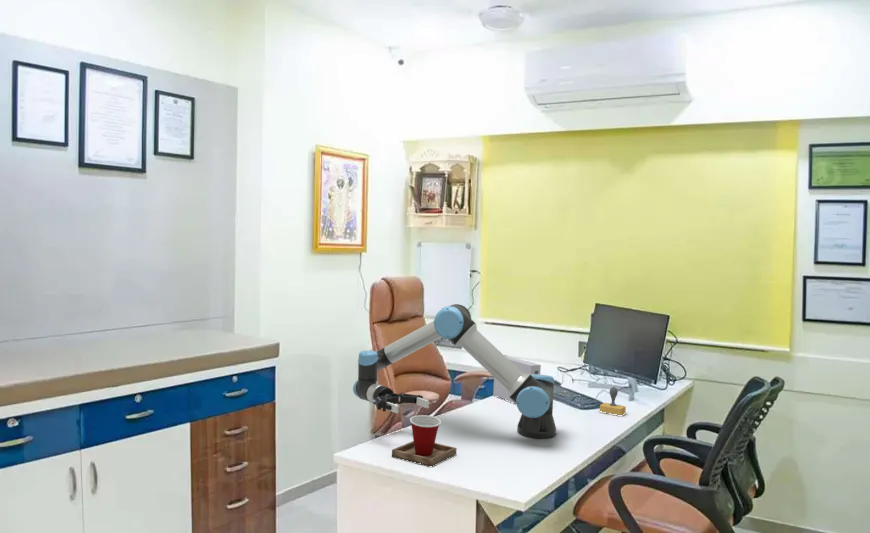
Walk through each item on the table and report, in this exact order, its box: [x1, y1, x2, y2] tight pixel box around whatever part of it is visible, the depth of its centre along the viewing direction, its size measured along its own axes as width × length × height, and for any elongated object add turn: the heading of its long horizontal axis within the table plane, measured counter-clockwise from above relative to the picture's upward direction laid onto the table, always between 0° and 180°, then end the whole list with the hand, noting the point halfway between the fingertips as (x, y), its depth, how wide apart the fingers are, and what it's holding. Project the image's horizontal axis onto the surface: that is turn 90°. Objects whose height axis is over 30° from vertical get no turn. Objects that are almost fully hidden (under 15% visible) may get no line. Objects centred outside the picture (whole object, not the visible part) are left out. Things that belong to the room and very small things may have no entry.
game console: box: [492, 354, 542, 405], centre depth 308 cm, size 6×27×20 cm, turn 31°
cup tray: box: [391, 440, 458, 467], centre depth 227 cm, size 16×16×2 cm
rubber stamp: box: [599, 386, 627, 416], centre depth 294 cm, size 10×6×12 cm, turn 55°
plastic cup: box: [409, 414, 442, 456], centre depth 226 cm, size 11×11×12 cm
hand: (413, 407), depth 239 cm, fingers open, 13 cm apart
